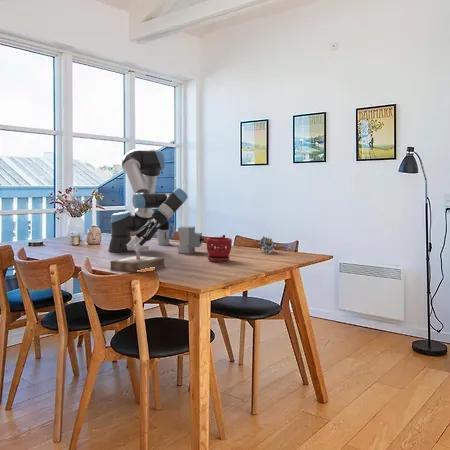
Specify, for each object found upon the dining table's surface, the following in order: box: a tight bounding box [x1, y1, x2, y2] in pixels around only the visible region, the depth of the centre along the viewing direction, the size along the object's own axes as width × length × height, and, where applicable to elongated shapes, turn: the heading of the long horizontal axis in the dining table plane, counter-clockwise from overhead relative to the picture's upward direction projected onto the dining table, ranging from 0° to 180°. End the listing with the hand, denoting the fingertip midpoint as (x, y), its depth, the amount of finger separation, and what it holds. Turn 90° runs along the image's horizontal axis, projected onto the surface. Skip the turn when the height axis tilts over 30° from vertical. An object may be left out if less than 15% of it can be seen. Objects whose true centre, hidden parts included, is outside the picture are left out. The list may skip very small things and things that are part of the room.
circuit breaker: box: [177, 225, 205, 254], centre depth 276 cm, size 8×14×15 cm, turn 78°
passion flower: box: [256, 235, 277, 255], centre depth 275 cm, size 11×11×12 cm
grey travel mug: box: [156, 221, 175, 246], centre depth 314 cm, size 9×14×15 cm, turn 54°
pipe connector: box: [127, 237, 150, 259], centre depth 225 cm, size 10×10×10 cm
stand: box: [110, 255, 165, 272], centre depth 225 cm, size 18×18×4 cm
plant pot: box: [206, 236, 233, 263], centre depth 246 cm, size 13×13×12 cm
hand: (131, 248), depth 223 cm, fingers open, 10 cm apart
